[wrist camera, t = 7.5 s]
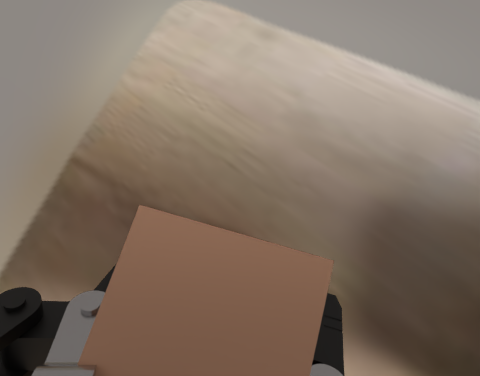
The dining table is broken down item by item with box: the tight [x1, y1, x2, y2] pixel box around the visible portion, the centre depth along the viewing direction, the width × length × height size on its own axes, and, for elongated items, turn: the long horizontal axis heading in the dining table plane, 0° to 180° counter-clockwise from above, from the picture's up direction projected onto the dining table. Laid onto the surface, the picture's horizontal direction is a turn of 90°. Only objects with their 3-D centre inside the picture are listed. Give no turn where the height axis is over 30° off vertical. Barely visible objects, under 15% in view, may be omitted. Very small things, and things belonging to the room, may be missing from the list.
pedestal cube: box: [77, 205, 334, 376], centre depth 12 cm, size 7×7×10 cm
